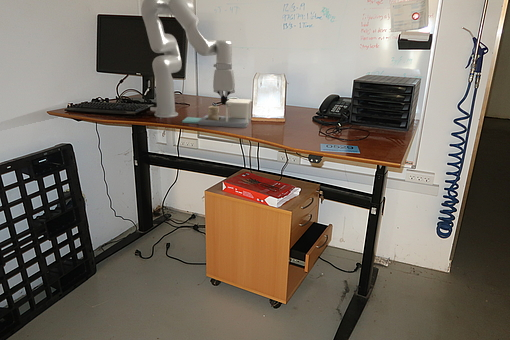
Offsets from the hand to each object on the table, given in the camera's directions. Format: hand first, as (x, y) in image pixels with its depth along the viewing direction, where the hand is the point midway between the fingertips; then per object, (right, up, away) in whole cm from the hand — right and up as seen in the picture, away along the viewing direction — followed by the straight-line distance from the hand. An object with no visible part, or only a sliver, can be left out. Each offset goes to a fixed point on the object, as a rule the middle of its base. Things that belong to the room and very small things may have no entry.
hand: (224, 104), depth 192 cm
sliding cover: (+7, -8, +2) cm, 11 cm away
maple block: (-6, -9, +4) cm, 11 cm away
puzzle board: (0, -9, +3) cm, 10 cm away
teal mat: (-17, -8, +6) cm, 19 cm away
